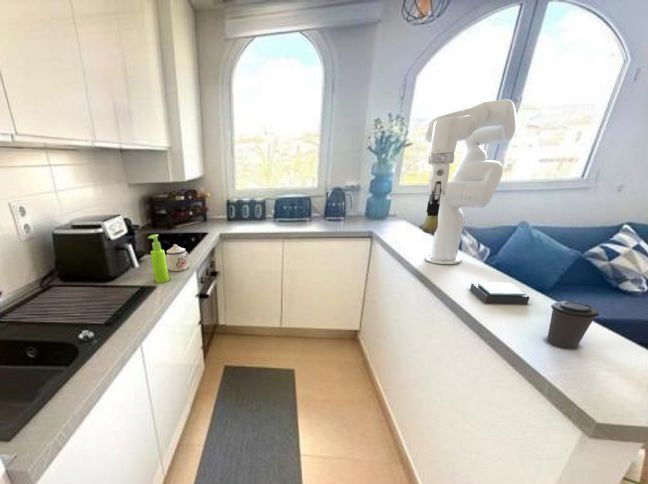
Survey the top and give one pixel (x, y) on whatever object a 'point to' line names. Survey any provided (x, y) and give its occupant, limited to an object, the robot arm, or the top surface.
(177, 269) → the teacup with lid
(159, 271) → the soap dispenser
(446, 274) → the top surface
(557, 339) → the coffee cup
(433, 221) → the fennel bulb
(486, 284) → the scale pan
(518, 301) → the scale
